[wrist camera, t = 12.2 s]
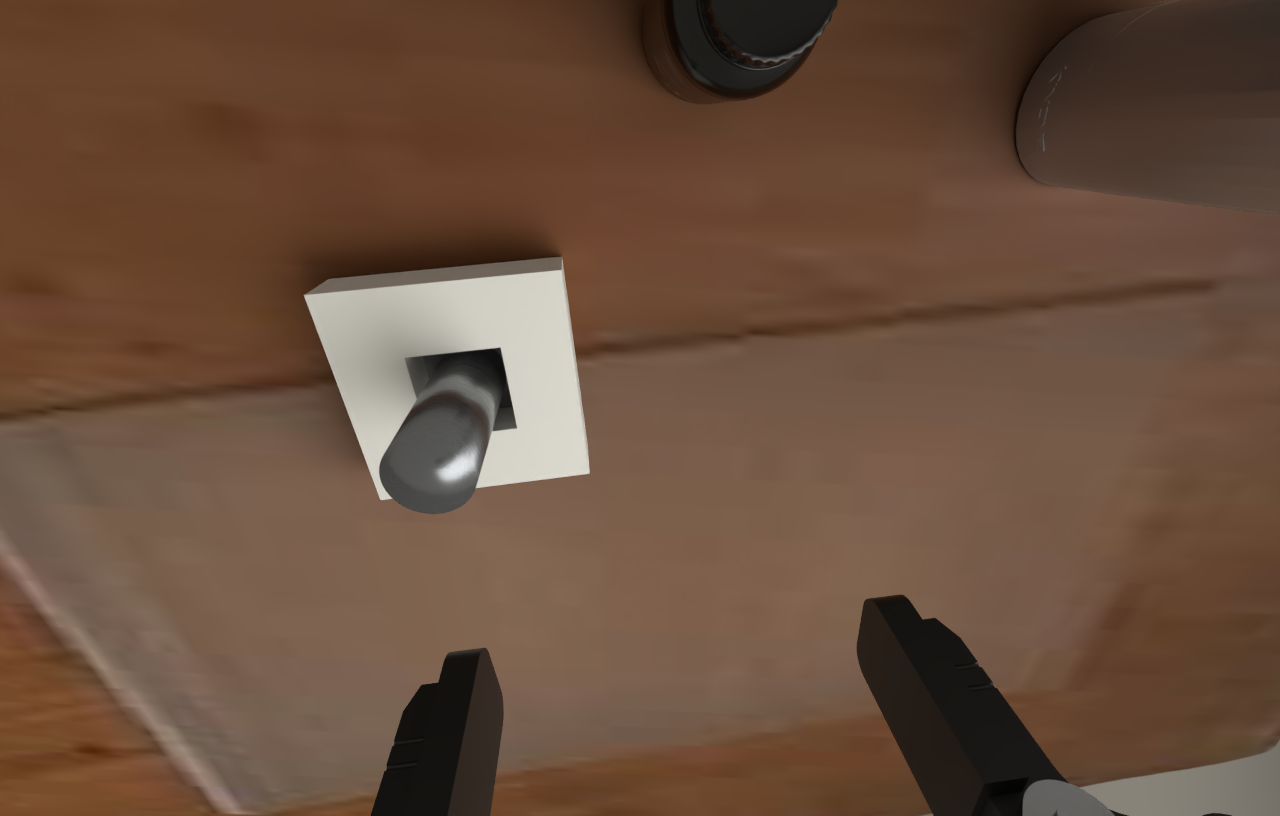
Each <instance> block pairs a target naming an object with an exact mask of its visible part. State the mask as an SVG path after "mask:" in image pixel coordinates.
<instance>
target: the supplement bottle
mask: <svg viewBox="0 0 1280 816" xmlns="http://www.w3.org/2000/svg"><path fill="white" fill-rule="evenodd" d="M836 6H837V0H646V4H645V7H644V13H643V20H642V40H643V47H644V51H645V55H646V58H647V61H648V64H649V66H650V68H651V70H652V72H653V74H654V75H655V77H656V78H657V80H658V81H659V82H660V84H661V85H662V86H663V87H664V88H665V89H666V90H668V91H669V92H670V93H671V94H673V95H674V96H676V97H678V98H680V99H682V100H684V101H687V102H691V103H696V104H712V103H721V102H730V101H739V100H746V99H751V98H755V97H758V96H761V95H764V94H766V93H768V92H771V91H773V90H774V89H776V88H778V87H779V86H781V85H782V84H783V83H785V82H786V81H787V80H788V79H790V78H791V77H792V76H793V75H794V74H795V73H796V72H797V71H798V69H799V68H800V67H801V66H802V65H803V63H804V62H805V60H806V59H807V58H808V56H809V54H810V53H811V51H812V49H813V48H814V46H815V44H816V41H817V39H818V37H819V36H821V35H822V33H823V31H824V28H825V25H827V24H828V23H829V22H830V20H831V17H832V12H833V10H834V9H835V8H836Z"/></svg>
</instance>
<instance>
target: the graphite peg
mask: <svg viewBox="0 0 1280 816" xmlns="http://www.w3.org/2000/svg"><path fill="white" fill-rule="evenodd" d="M506 381H507V376H506V371H505V366H504V362H503V359H502V358H501V356H500V355H499V354H498V353H497V352H496V351H495V350H493V349H492V348H491V349H482V350H473V351H463V352H454V353H445V354H444V355H443V356H442V358H441V360H440V361H439V363H438V365H437V366H436V368H435V370H434V371H433V373H432V375H431V376H430V378H429V380H428V381H427V383H426V385H425V386H424V388H423V390H422V391H421V393H420V395H419V396H418V398H417V400H416V402H415V403H414V405H413V407H412V408H411V410H410V412H409V413H408V415H407V417H406V418H405V420H404V422H403V423H402V425H401V427H400V428H399V430H398V432H397V433H396V435H395V437H394V438H393V440H392V442H391V443H390V445H389V447H388V448H387V450H386V452H385V453H384V455H383V457H382V459H381V462H380V466H379V476H380V480H381V483H382V485H383V487H384V489H385V490H386V492H387V493H388V494H389V496H390V497H392V498H393V499H394V500H395V501H396V502H398V503H399V504H401V505H402V506H404V507H406V508H408V509H411V510H413V511H417V512H421V513H428V514H439V513H446V512H449V511H452V510H455V509H457V508H459V507H461V506H462V505H464V504H465V503H466V502H467V501H468V500H469V499H470V498H471V497H472V495H473V493H474V491H475V489H476V486H477V482H478V479H479V475H480V472H481V468H482V465H483V461H484V458H485V454H486V451H487V447H488V444H489V440H490V437H491V433H492V430H493V426H494V423H495V419H496V416H497V412H498V409H499V405H500V402H501V399H502V395H503V392H504V388H505V385H506Z"/></svg>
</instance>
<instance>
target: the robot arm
mask: <svg viewBox="0 0 1280 816" xmlns="http://www.w3.org/2000/svg"><path fill="white" fill-rule="evenodd" d="M1016 146H1017V150H1018V153H1019V157H1020V160H1021V162H1022V164H1023V166H1024V167H1025V169H1026V171H1027V172H1028V173H1029V174H1030V175H1031V176H1032V177H1033V178H1034V179H1035V180H1037V181H1039V182H1041V183H1043V184H1045V185H1049V186H1055V187H1062V188H1070V189H1078V190H1085V191H1093V192H1101V193H1106V194H1114V195H1122V196H1130V197H1138V198H1146V199H1154V200H1162V201H1170V202H1177V203H1185V204H1193V205H1201V206H1209V207H1217V208H1225V209H1233V210H1241V211H1249V212H1257V213H1265V214H1273V215H1280V0H1177V1H1172V2H1167V3H1162V4H1157V5H1153V6H1148V7H1143V8H1138V9H1133V10H1128V11H1123V12H1118V13H1113V14H1109V15H1105V16H1102V17H1099V18H1096V19H1093V20H1091V21H1089V22H1087V23H1085V24H1083V25H1082V26H1080V27H1078V28H1076V29H1075V30H1073V31H1072V32H1071V33H1070V34H1068V35H1067V36H1066V37H1065V38H1064V39H1062V40H1061V41H1060V42H1059V43H1058V44H1057V45H1056V46H1055V47H1054V48H1053V49H1052V51H1051V52H1050V53H1049V54H1048V55H1047V56H1046V57H1045V59H1044V60H1043V62H1042V63H1041V64H1040V66H1039V67H1038V69H1037V70H1036V72H1035V73H1034V75H1033V77H1032V79H1031V81H1030V83H1029V85H1028V87H1027V89H1026V91H1025V93H1024V96H1023V99H1022V102H1021V106H1020V109H1019V112H1018V119H1017V125H1016ZM857 656H858V661H859V665H860V668H861V671H862V673H863V676H864V678H865V680H866V682H867V684H868V686H869V688H870V690H871V692H872V694H873V696H874V698H875V700H876V702H877V704H878V706H879V708H880V710H881V712H882V714H883V716H884V718H885V720H886V722H887V724H888V726H889V728H890V730H891V732H892V734H893V736H894V738H895V740H896V742H897V744H898V746H899V748H900V750H901V752H902V754H903V756H904V758H905V759H906V761H907V763H908V765H909V767H910V769H911V771H912V773H913V775H914V777H915V779H916V781H917V783H918V785H919V787H920V789H921V791H922V793H923V795H924V797H925V799H926V801H927V803H928V805H929V807H930V809H931V811H932V813H933V815H934V816H1127V815H1123V814H1120V813H1117V812H1115V811H1112V810H1109V809H1108V808H1107V807H1106V806H1105V805H1104V804H1103V803H1101V802H1100V801H1099V800H1097V799H1096V798H1095V797H1094V796H1092V795H1090V794H1089V793H1087V792H1086V791H1084V790H1082V789H1080V788H1078V787H1076V786H1074V785H1072V784H1070V783H1068V782H1067V781H1066V780H1065V779H1064V777H1063V776H1062V775H1061V774H1060V773H1059V772H1058V771H1057V770H1056V768H1055V767H1054V766H1053V765H1052V763H1051V762H1050V760H1049V759H1048V758H1047V756H1046V755H1045V754H1044V752H1043V751H1042V749H1041V748H1040V747H1039V745H1038V744H1037V743H1036V741H1035V740H1034V738H1033V737H1032V736H1031V734H1030V733H1029V732H1028V730H1027V729H1026V727H1025V726H1024V725H1023V723H1022V722H1021V721H1020V719H1019V718H1018V716H1017V715H1016V714H1015V712H1014V711H1013V710H1012V708H1011V707H1010V705H1009V704H1008V703H1007V701H1006V700H1005V699H1004V697H1003V696H1002V694H1001V693H1000V692H999V690H998V689H997V688H994V686H993V682H992V681H991V679H990V678H989V677H988V675H987V674H986V673H985V671H984V670H983V668H982V667H979V665H978V662H977V660H976V659H975V657H974V656H973V655H972V653H971V652H970V651H969V649H968V648H967V646H966V645H965V644H964V642H963V641H962V640H961V638H960V637H959V636H957V635H956V634H955V633H954V632H952V631H951V630H950V629H948V628H947V627H946V626H945V625H943V624H942V623H941V622H940V621H938V620H937V619H936V618H931V619H924V620H922V618H921V617H920V615H919V614H918V612H917V611H916V609H915V608H914V606H913V605H912V603H911V602H910V601H909V600H908V599H907V597H905V596H904V595H893V596H886V597H878V598H870V599H866V600H865V602H864V605H863V611H862V617H861V623H860V629H859V635H858V641H857ZM502 726H503V697H502V692H501V689H500V686H499V682H498V679H497V676H496V673H495V670H494V667H493V664H492V661H491V658H490V655H489V652H488V650H487V649H486V648H479V649H471V650H464V651H456V652H450V653H448V654H447V656H446V658H445V660H444V663H443V667H442V671H441V675H440V678H439V682H438V683H432V684H425V685H421V686H420V688H419V689H418V691H417V692H416V694H415V695H414V697H413V698H412V699H411V701H410V702H409V704H408V705H407V707H406V708H405V710H404V711H403V714H402V717H401V720H400V723H399V727H398V730H397V733H396V736H395V739H394V746H392V749H391V752H390V755H389V759H388V762H387V770H386V771H384V775H383V778H382V781H381V784H380V787H379V791H378V794H377V797H376V800H375V803H374V807H373V810H372V813H371V816H490V812H491V805H492V798H493V791H494V784H495V776H496V769H497V762H498V755H499V748H500V741H501V734H502ZM1203 816H1231V815H1226V814H1219V813H1218V814H1217V813H1211V814H1206V815H1203Z"/></svg>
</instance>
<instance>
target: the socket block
mask: <svg viewBox="0 0 1280 816" xmlns="http://www.w3.org/2000/svg"><path fill="white" fill-rule="evenodd" d="M304 297H305V300H306V302H307V305H308V308H309V310H310V313H311V316H312V318H313V321H314V324H315V326H316V329H317V332H318V334H319V337H320V340H321V342H322V345H323V348H324V350H325V353H326V356H327V358H328V361H329V364H330V366H331V369H332V372H333V374H334V377H335V380H336V382H337V385H338V388H339V390H340V393H341V396H342V398H343V401H344V404H345V406H346V409H347V412H348V414H349V417H350V420H351V422H352V425H353V428H354V430H355V433H356V436H357V438H358V441H359V444H360V446H361V449H362V452H363V454H364V457H365V460H366V462H367V465H368V468H369V470H370V473H371V476H372V478H373V481H374V484H375V486H376V489H377V492H378V494H379V497H380V500H385V499H393V498H392V497H390V496H389V494H388V493H387V492H386V490H385V489H384V487H383V485H382V483H381V480H380V476H379V466H380V462H381V459H382V457H383V455H384V453H385V452H386V450H387V448H388V447H389V445H390V443H391V442H392V440H393V438H394V437H395V435H396V433H397V432H398V430H399V428H400V427H401V425H402V423H403V422H404V420H405V418H406V417H407V415H408V413H409V412H410V410H411V408H412V407H413V405H414V403H415V402H416V400H417V398H418V396H419V395H420V393H421V391H422V390H423V388H424V386H425V385H426V383H427V381H428V380H429V378H430V376H431V375H432V373H433V371H434V370H435V368H436V366H437V365H438V363H439V361H440V360H441V358H442V356H443V355H444V354H445V353H454V352H463V351H473V350H482V349H491V348H492V349H493V350H495V351H496V352H497V353H498V354H499V355H500V356H501V358H502V359H503V362H504V366H505V371H506V376H507V381H506V385H505V388H504V392H503V395H502V399H501V402H500V405H499V409H498V412H497V416H496V419H495V423H494V426H493V430H492V433H491V437H490V440H489V444H488V447H487V451H486V454H485V458H484V461H483V465H482V468H481V472H480V475H479V479H478V482H477V486H476V488H480V487H487V486H495V485H503V484H511V483H519V482H527V481H535V480H543V479H550V478H558V477H566V476H574V475H582V474H590V472H589V458H588V445H587V437H586V430H585V423H584V415H583V408H582V401H581V393H580V386H579V378H578V371H577V364H576V356H575V349H574V342H573V334H572V327H571V320H570V312H569V305H568V297H567V290H566V283H565V275H564V268H563V261H562V257H552V258H542V259H532V260H521V261H511V262H500V263H490V264H479V265H469V266H459V267H448V268H438V269H427V270H417V271H406V272H396V273H386V274H375V275H365V276H354V277H344V278H333V279H328V280H326V281H325V282H323V283H322V284H320V285H319V286H317V287H316V288H314V289H313V290H311V291H309V292H308V293H306V294H305V295H304Z"/></svg>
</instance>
